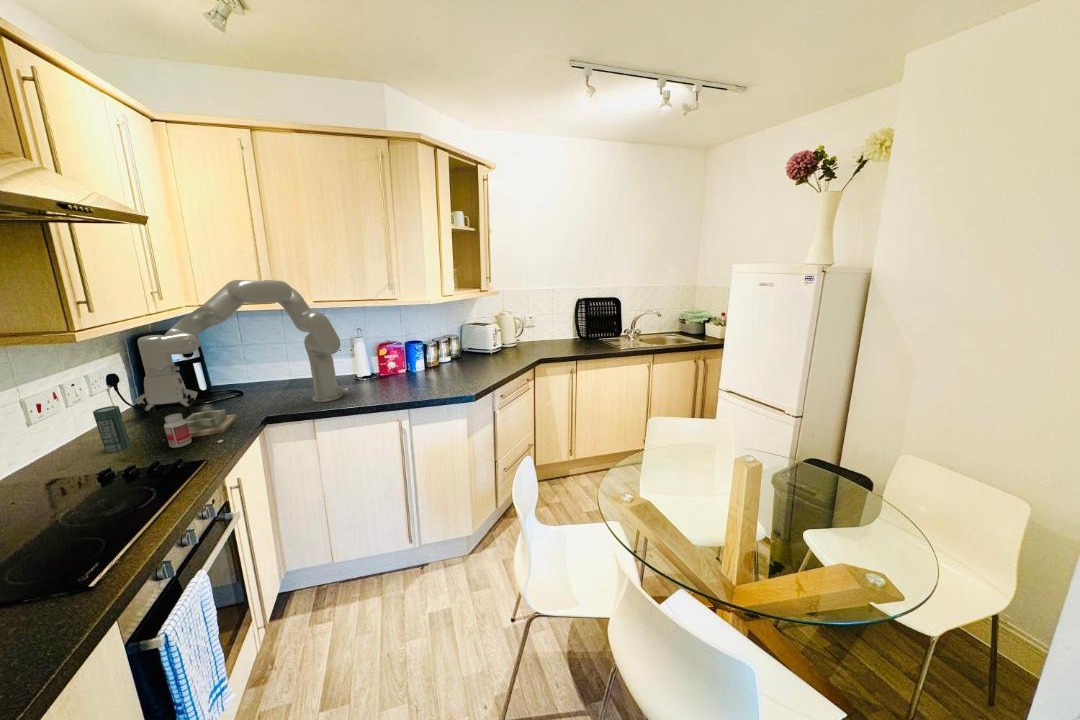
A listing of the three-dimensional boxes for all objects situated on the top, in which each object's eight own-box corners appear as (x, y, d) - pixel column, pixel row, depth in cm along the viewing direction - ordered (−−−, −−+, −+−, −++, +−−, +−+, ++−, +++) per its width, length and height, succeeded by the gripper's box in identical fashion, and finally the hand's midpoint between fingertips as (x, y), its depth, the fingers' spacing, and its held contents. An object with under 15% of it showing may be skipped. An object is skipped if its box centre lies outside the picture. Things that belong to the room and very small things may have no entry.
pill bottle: (195, 439, 151) (187, 411, 148) (187, 446, 145) (180, 417, 143) (174, 442, 149) (166, 414, 146) (166, 449, 143) (157, 420, 141)
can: (133, 443, 149) (122, 404, 145) (124, 450, 143) (112, 410, 140) (112, 446, 147) (99, 407, 143) (102, 453, 141) (88, 413, 138)
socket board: (237, 417, 171) (234, 406, 169) (223, 432, 156) (220, 420, 155) (190, 423, 166) (187, 412, 164) (171, 439, 151) (168, 427, 150)
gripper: (195, 366, 146) (205, 411, 150) (134, 371, 141) (146, 417, 145) (186, 371, 139) (197, 418, 144) (121, 376, 134) (135, 425, 138)
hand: (172, 417), depth 144 cm, fingers open, 9 cm apart
